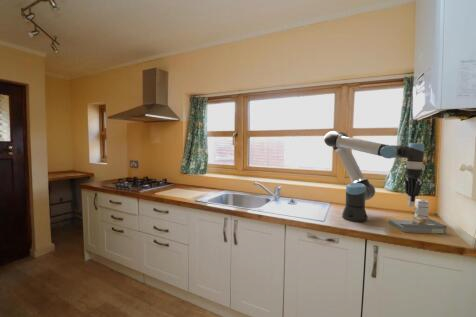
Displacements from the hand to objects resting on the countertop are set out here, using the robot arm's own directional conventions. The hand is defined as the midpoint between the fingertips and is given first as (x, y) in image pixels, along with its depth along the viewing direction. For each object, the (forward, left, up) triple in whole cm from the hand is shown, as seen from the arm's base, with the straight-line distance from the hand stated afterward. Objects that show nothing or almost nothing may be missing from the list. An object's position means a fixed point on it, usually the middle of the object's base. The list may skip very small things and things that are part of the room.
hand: (410, 206), depth 137 cm
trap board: (0, -5, -12) cm, 13 cm away
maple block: (+1, -8, -10) cm, 12 cm away
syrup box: (+11, +6, -12) cm, 18 cm away
